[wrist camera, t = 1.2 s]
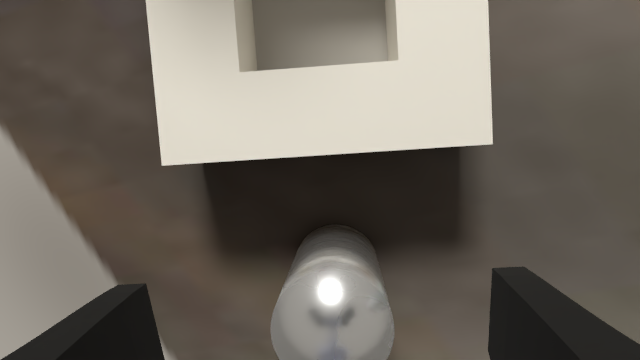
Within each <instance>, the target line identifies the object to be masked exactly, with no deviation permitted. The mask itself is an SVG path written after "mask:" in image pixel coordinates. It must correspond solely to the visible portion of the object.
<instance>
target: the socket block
mask: <svg viewBox="0 0 640 360" xmlns="http://www.w3.org/2000/svg"><path fill="white" fill-rule="evenodd" d="M146 8H147V18H148V29H149V39H150V49H151V59H152V69H153V80H154V90H155V100H156V110H157V121H158V131H159V141H160V151H161V161H162V166H164V165H179V164H195V163H210V162H226V161H241V160H256V159H272V158H287V157H303V156H318V155H333V154H349V153H364V152H380V151H395V150H410V149H426V148H441V147H457V146H472V145H488V144H493V135H492V106H491V76H490V46H489V16H488V0H146Z"/></svg>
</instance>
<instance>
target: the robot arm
mask: <svg viewBox="0 0 640 360" xmlns="http://www.w3.org/2000/svg"><path fill="white" fill-rule="evenodd" d="M488 352H489V355H490V359H491V360H640V344H638V343H636V342H635V341H633V340H631V339H630V338H628V337H627V336H625V335H624V334H622V333H621V332H619V331H617V330H616V329H614V328H613V327H611V326H610V325H608V324H607V323H605V322H604V321H602V320H601V319H599V318H598V317H596V316H595V315H593V314H592V313H590V312H589V311H587V310H586V309H584V308H583V307H581V306H580V305H579V304H577V303H576V302H574V301H573V300H571V299H570V298H569V297H567V296H566V295H564V294H563V293H561V292H560V291H559V290H557V289H556V288H554V287H553V286H551V285H550V284H549V283H547V282H546V281H544V280H543V279H541V278H540V277H539V276H537V275H536V274H534V273H533V272H531V271H530V270H528V269H526V268H525V267H507V268H492V286H491V304H490V323H489V342H488ZM1 360H165V359H164V355H163V351H162V347H161V343H160V339H159V335H158V331H157V327H156V323H155V319H154V315H153V311H152V306H151V302H150V298H149V294H148V290H147V286H146V284H127V285H117V286H115V287H114V288H112V289H110V290H108V291H106V292H105V293H103V294H102V295H100V296H98V297H97V298H95V299H93V300H92V301H90V302H89V303H87V304H86V305H84V306H83V307H81V308H80V309H78V310H77V311H75V312H74V313H72V314H71V315H69V316H68V317H66V318H65V319H63V320H62V321H60V322H59V323H57V324H56V325H54V326H53V327H51V328H50V329H48V330H47V331H45V332H44V333H42V334H41V335H39V336H38V337H36V338H35V339H33V340H31V341H30V342H28V343H27V344H25V345H24V346H22V347H20V348H19V349H17V350H16V351H14V352H12V353H11V354H9V355H8V356H6V357H5V358H3V359H1Z"/></svg>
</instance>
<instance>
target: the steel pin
mask: <svg viewBox="0 0 640 360" xmlns="http://www.w3.org/2000/svg"><path fill="white" fill-rule="evenodd" d="M271 338H272V343H273V346H274V349H275V352H276V354H277V356H278V358H279V360H387V358H388V356H389V354H390V352H391V349H392V345H393V340H394V322H393V317H392V313H391V309H390V305H389V301H388V298H387V294H386V290H385V286H384V282H383V278H382V274H381V271H380V267H379V263H378V259H377V255H376V252H375V249H374V247H373V245H372V244H371V242H370V241H369V240H368V238H367V237H366V236H365V235H363V234H362V233H361V232H360V231H358V230H356V229H354V228H352V227H349V226H345V225H339V224H333V225H327V226H323V227H320V228H318V229H316V230H314V231H313V232H311V233H310V234H309V235H308V236H307V237H306V238H305V239H304V240H303V241H302V243H301V244H300V246H299V248H298V250H297V253H296V255H295V258H294V260H293V263H292V265H291V268H290V271H289V273H288V276H287V278H286V281H285V283H284V286H283V288H282V291H281V293H280V296H279V298H278V301H277V303H276V306H275V308H274V311H273V315H272V319H271Z"/></svg>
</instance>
